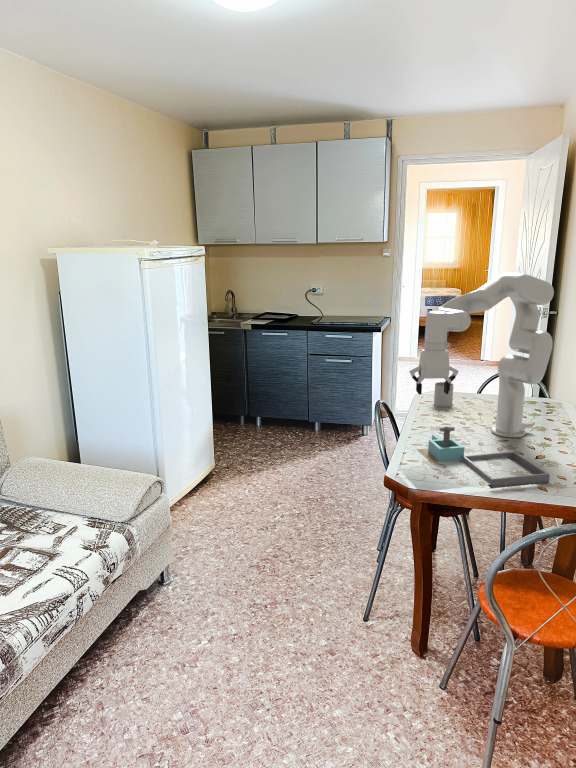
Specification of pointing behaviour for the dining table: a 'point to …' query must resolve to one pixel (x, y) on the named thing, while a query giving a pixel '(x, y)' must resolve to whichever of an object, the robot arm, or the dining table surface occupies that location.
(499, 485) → the tray
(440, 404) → the cup
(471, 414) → the dining table surface
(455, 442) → the teal hollow frame
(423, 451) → the stake board
